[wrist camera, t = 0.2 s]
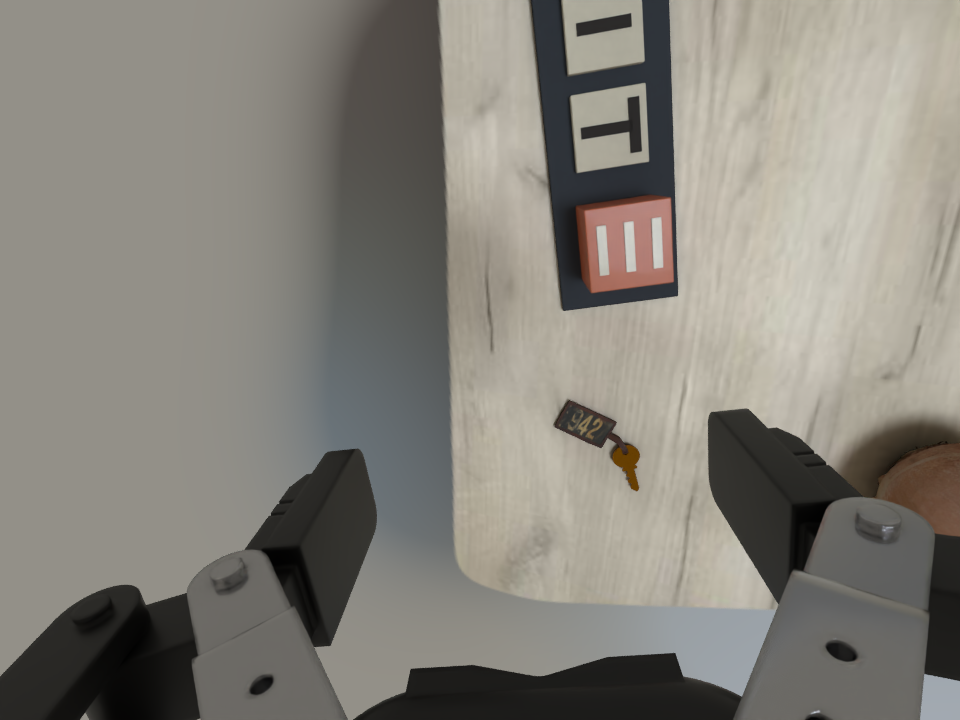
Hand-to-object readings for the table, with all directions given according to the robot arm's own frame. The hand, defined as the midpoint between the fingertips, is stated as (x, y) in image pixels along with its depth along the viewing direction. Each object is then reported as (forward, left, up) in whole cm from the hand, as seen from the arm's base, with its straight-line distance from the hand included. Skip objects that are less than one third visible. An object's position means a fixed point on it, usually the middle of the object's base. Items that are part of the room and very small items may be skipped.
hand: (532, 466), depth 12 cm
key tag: (+12, +4, -22) cm, 26 cm away
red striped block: (-2, +6, -22) cm, 23 cm away
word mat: (-7, +6, -22) cm, 24 cm away
